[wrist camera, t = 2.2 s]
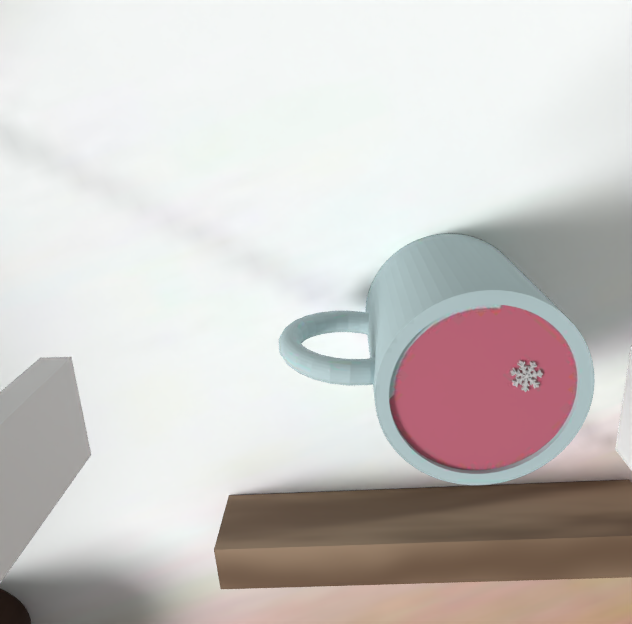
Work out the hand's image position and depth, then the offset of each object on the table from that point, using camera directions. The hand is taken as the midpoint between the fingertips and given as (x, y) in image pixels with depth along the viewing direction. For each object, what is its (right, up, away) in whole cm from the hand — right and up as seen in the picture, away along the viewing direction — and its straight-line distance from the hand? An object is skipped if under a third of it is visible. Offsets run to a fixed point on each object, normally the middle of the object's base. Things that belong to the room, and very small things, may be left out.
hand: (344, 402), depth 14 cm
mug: (+5, +2, +21) cm, 21 cm away
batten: (+7, -11, +25) cm, 28 cm away
